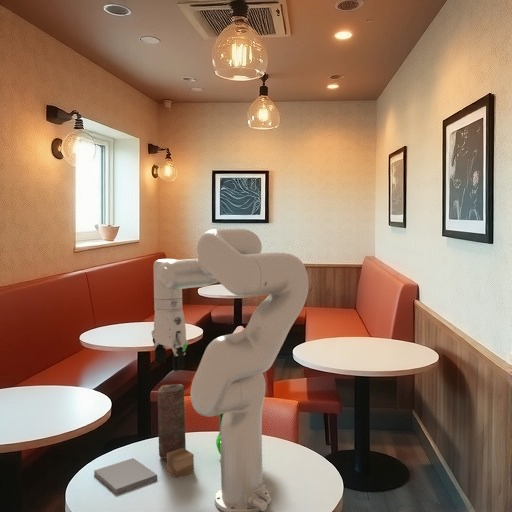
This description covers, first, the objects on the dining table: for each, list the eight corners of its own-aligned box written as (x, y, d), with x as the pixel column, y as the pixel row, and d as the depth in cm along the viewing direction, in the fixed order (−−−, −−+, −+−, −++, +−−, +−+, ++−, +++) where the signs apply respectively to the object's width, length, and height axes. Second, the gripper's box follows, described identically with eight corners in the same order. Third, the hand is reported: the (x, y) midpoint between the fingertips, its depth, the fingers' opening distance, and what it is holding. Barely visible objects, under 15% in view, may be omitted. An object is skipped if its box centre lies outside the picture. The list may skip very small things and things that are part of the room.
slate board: (157, 479, 132) (157, 474, 132) (116, 494, 125) (116, 489, 125) (133, 462, 142) (133, 457, 142) (94, 475, 135) (94, 470, 135)
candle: (180, 464, 140) (178, 391, 139) (154, 462, 142) (152, 389, 141) (189, 452, 148) (188, 382, 147) (165, 450, 149) (163, 381, 148)
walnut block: (193, 472, 135) (193, 453, 135) (177, 479, 132) (176, 459, 132) (183, 466, 139) (183, 447, 139) (167, 472, 136) (166, 453, 136)
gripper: (197, 306, 138) (198, 370, 139) (164, 299, 152) (165, 357, 153) (172, 309, 133) (173, 375, 135) (140, 302, 147) (141, 362, 148)
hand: (169, 366), depth 144 cm, fingers open, 9 cm apart
